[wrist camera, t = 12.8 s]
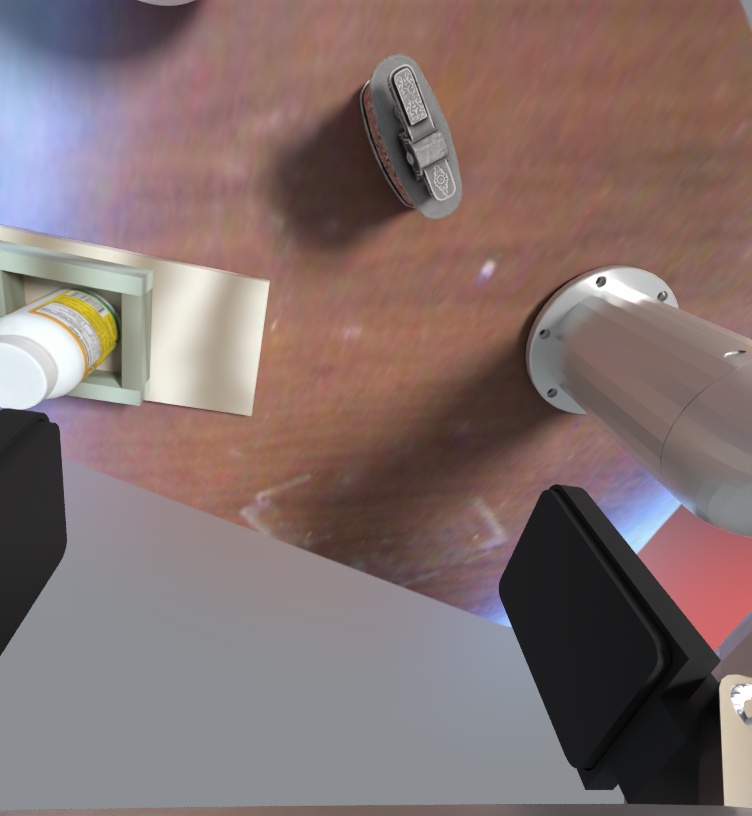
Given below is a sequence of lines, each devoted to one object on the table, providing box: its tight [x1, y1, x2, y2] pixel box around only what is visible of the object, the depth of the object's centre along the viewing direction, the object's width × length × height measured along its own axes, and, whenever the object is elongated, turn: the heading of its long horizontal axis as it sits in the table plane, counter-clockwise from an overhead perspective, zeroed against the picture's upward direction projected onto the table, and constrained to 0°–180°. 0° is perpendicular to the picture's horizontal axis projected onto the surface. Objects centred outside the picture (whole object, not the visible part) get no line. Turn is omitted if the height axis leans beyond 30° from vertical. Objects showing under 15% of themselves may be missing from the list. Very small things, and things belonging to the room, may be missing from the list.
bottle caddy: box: [0, 224, 270, 416], centre depth 34 cm, size 18×11×3 cm, turn 77°
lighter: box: [359, 54, 462, 219], centre depth 27 cm, size 8×3×10 cm, turn 26°
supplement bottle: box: [0, 287, 122, 410], centre depth 30 cm, size 5×5×10 cm
